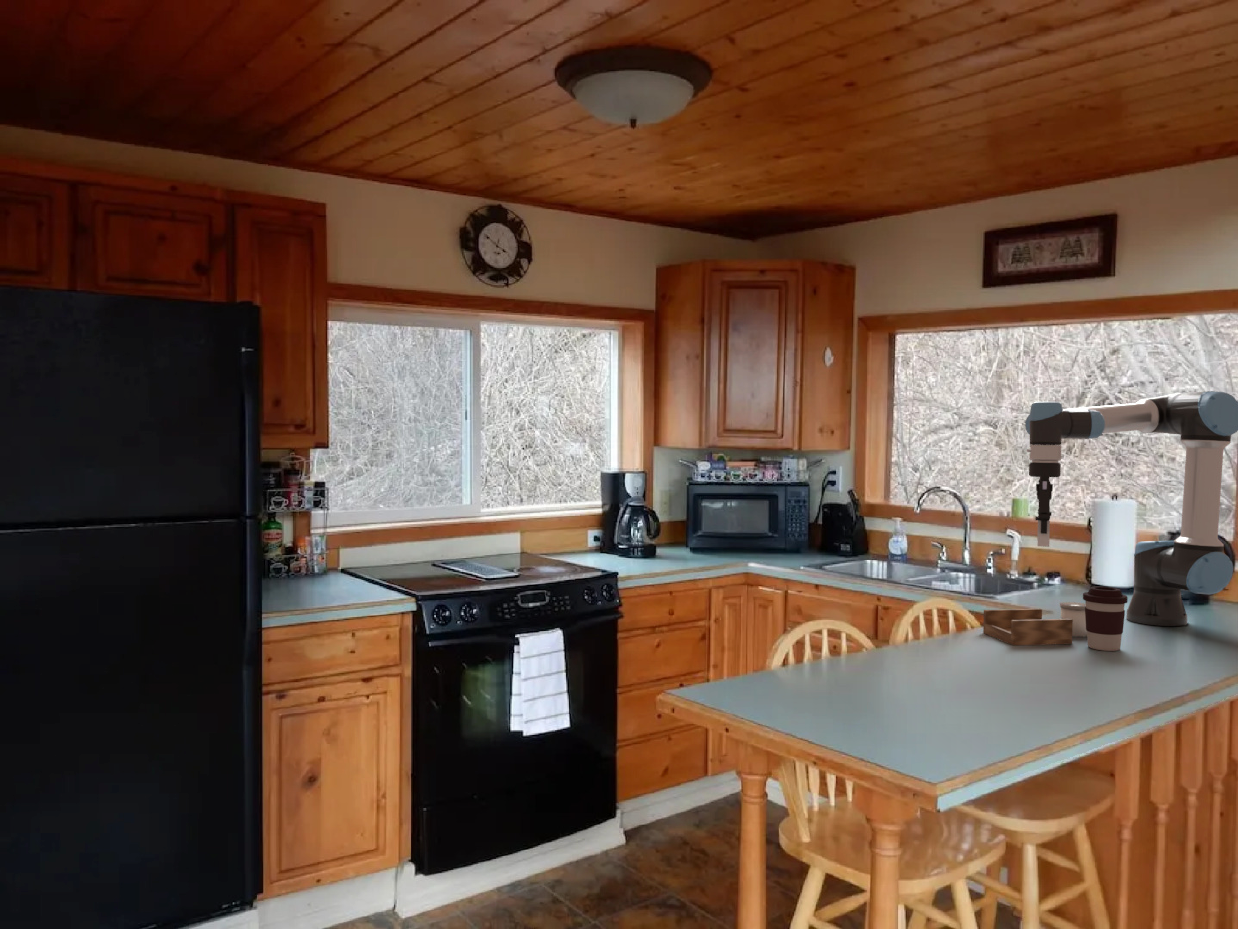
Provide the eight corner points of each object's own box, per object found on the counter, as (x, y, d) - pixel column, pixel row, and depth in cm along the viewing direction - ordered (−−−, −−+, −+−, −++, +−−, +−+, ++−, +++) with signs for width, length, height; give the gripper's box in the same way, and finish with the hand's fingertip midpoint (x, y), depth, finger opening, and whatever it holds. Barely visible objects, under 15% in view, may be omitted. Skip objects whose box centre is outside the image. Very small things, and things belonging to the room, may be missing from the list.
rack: (1039, 631, 261) (1039, 608, 261) (1072, 643, 247) (1072, 619, 246) (983, 632, 259) (983, 609, 259) (1012, 645, 245) (1013, 620, 244)
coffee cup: (1134, 653, 237) (1135, 591, 236) (1093, 652, 237) (1094, 591, 236) (1114, 644, 247) (1115, 585, 246) (1074, 643, 247) (1076, 585, 246)
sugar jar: (1079, 630, 263) (1080, 602, 263) (1096, 636, 256) (1097, 607, 255) (1053, 631, 262) (1054, 602, 262) (1069, 637, 255) (1070, 607, 254)
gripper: (1029, 460, 264) (1027, 537, 264) (1028, 462, 241) (1027, 548, 242) (1059, 460, 261) (1057, 539, 262) (1062, 463, 238) (1060, 549, 239)
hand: (1043, 543), depth 252 cm, fingers open, 13 cm apart
